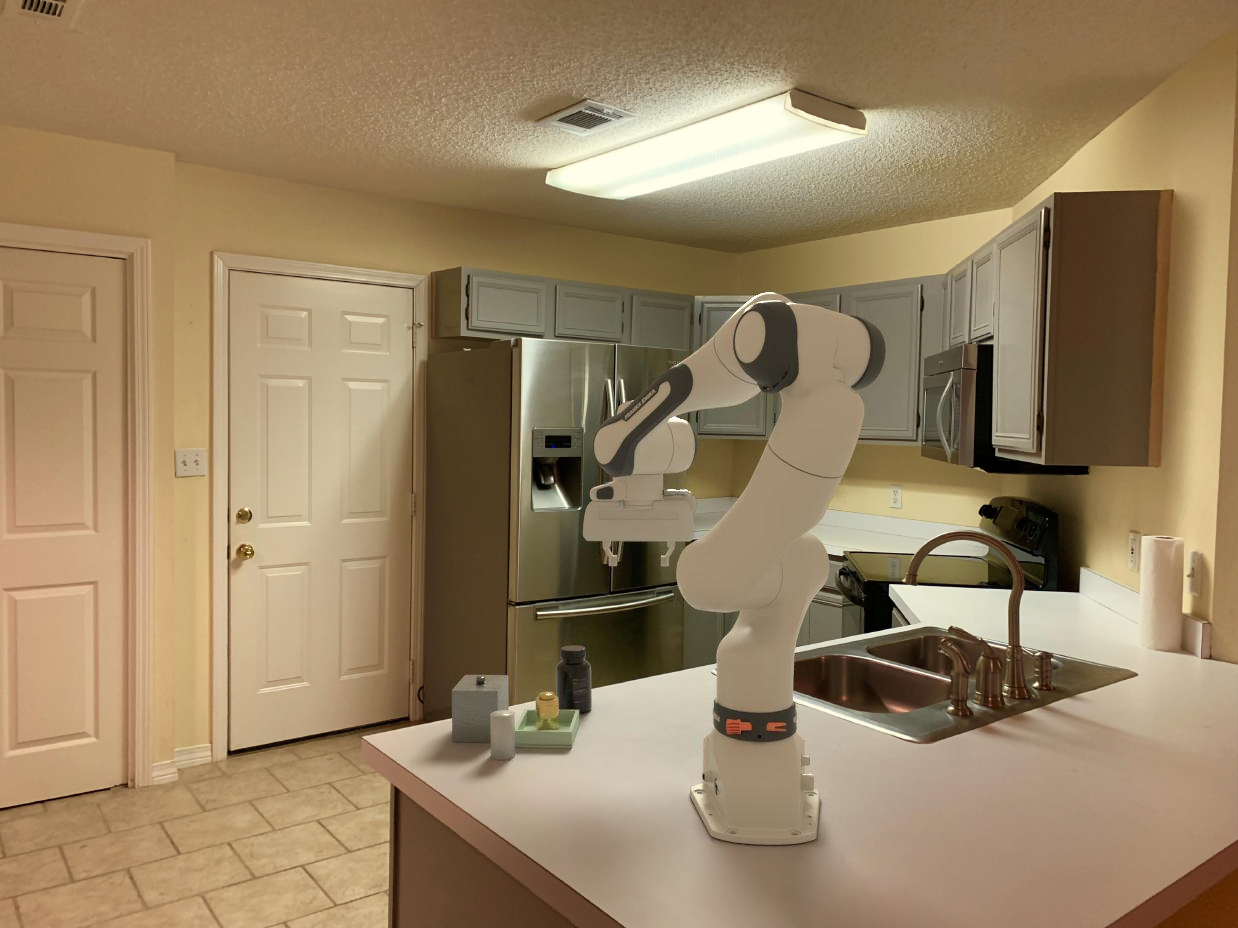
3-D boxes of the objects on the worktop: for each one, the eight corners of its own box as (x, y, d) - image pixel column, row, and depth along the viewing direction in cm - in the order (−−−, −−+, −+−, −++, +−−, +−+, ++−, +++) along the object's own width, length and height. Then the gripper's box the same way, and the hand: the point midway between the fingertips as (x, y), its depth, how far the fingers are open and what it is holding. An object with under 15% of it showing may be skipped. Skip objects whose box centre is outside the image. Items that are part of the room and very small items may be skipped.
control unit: (498, 742, 155) (497, 685, 155) (452, 741, 156) (451, 684, 155) (509, 722, 166) (508, 669, 165) (466, 722, 166) (465, 668, 166)
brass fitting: (557, 735, 157) (556, 697, 156) (534, 735, 157) (533, 697, 157) (560, 728, 161) (559, 690, 160) (538, 728, 161) (537, 690, 161)
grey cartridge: (512, 760, 147) (512, 717, 147) (488, 759, 147) (487, 717, 147) (517, 751, 151) (516, 710, 151) (493, 751, 151) (493, 709, 151)
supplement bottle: (593, 704, 177) (593, 643, 176) (589, 715, 170) (588, 652, 169) (559, 703, 177) (558, 643, 177) (553, 714, 170) (552, 651, 170)
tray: (571, 748, 152) (571, 731, 152) (513, 746, 153) (513, 730, 153) (579, 724, 164) (579, 709, 164) (525, 723, 165) (524, 708, 165)
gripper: (695, 488, 166) (695, 563, 166) (585, 488, 167) (585, 562, 167) (696, 490, 159) (696, 568, 160) (581, 490, 161) (581, 567, 161)
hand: (638, 565), depth 164 cm, fingers open, 8 cm apart
